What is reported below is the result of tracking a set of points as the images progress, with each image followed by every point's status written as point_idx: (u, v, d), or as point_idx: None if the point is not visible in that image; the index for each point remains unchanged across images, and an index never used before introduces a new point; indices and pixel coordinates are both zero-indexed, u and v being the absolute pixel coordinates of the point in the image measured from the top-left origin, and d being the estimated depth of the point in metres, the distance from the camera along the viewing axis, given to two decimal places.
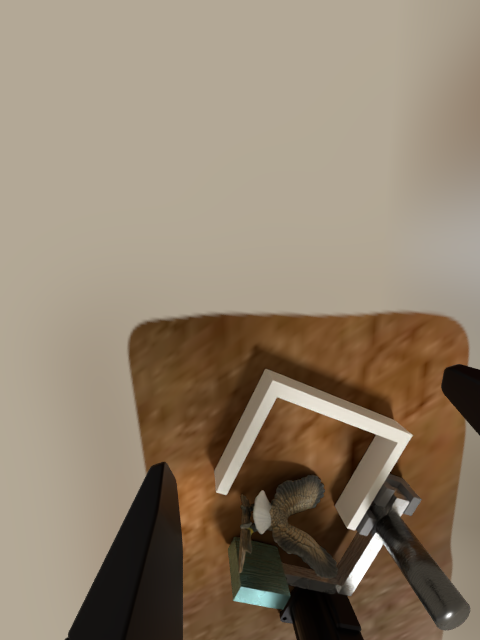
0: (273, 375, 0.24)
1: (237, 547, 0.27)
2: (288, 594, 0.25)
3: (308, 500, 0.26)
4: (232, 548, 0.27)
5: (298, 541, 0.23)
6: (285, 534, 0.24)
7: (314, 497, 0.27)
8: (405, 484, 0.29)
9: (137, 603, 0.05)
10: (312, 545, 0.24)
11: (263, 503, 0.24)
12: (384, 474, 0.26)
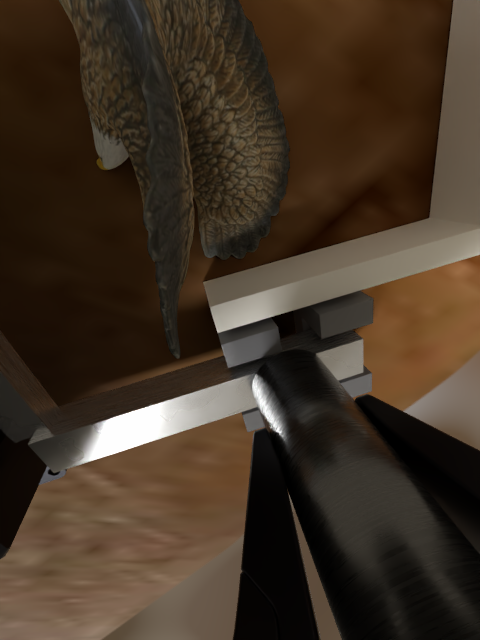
0: None
1: None
2: None
3: (253, 164, 0.08)
4: None
5: (172, 89, 0.04)
6: None
7: (253, 200, 0.09)
8: None
9: None
10: (191, 194, 0.05)
11: None
12: (397, 268, 0.10)
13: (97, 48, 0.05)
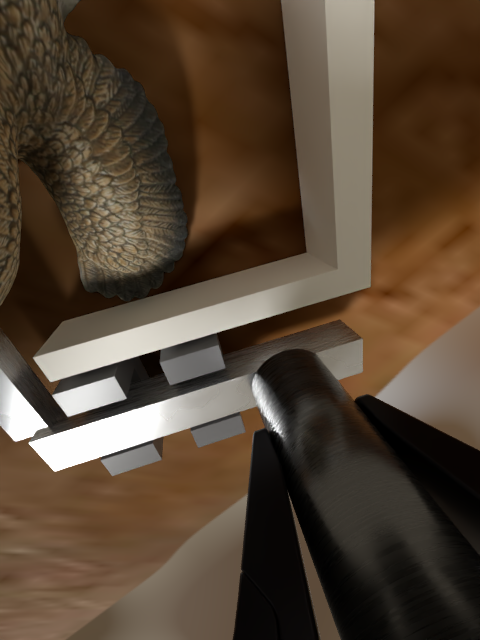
0: None
1: None
2: None
3: (132, 228, 0.08)
4: None
5: None
6: None
7: (135, 257, 0.09)
8: None
9: None
10: None
11: None
12: (243, 313, 0.09)
13: None
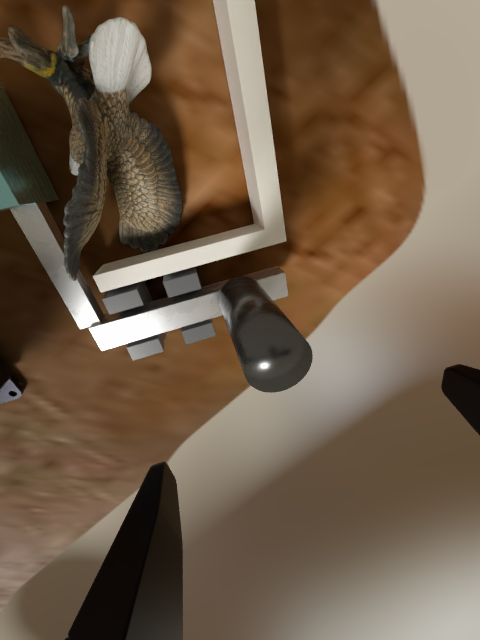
0: None
1: None
2: (17, 199, 0.11)
3: (152, 202, 0.15)
4: None
5: (99, 165, 0.11)
6: (97, 134, 0.11)
7: (152, 220, 0.16)
8: (210, 320, 0.19)
9: (137, 603, 0.05)
10: (99, 206, 0.12)
11: (136, 70, 0.11)
12: (211, 254, 0.16)
13: (78, 131, 0.12)
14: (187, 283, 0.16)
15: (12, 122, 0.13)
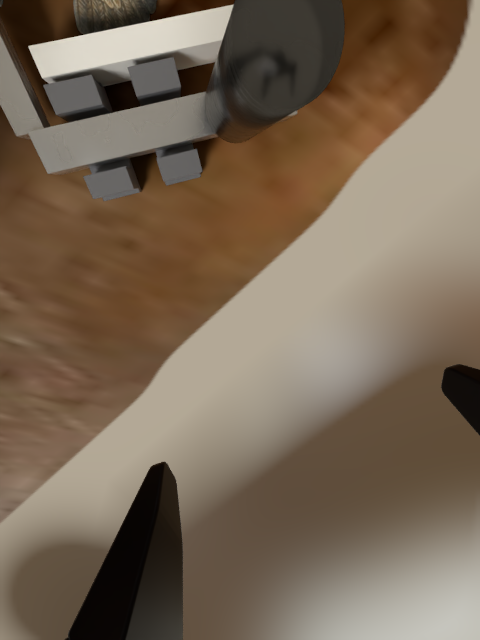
0: None
1: None
2: None
3: None
4: None
5: None
6: None
7: None
8: None
9: (137, 603, 0.05)
10: None
11: None
12: (193, 32, 0.12)
13: None
14: (161, 74, 0.12)
15: None
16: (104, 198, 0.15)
